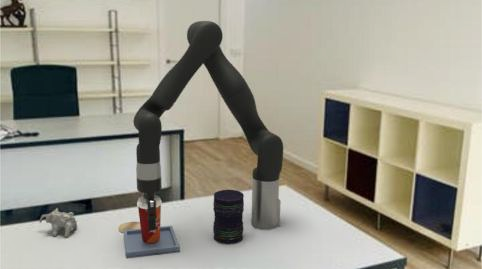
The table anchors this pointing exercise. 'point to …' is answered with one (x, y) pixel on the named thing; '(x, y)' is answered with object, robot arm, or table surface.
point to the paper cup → (146, 234)
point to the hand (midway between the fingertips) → (150, 224)
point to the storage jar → (228, 216)
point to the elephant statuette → (60, 221)
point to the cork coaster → (129, 226)
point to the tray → (140, 248)
